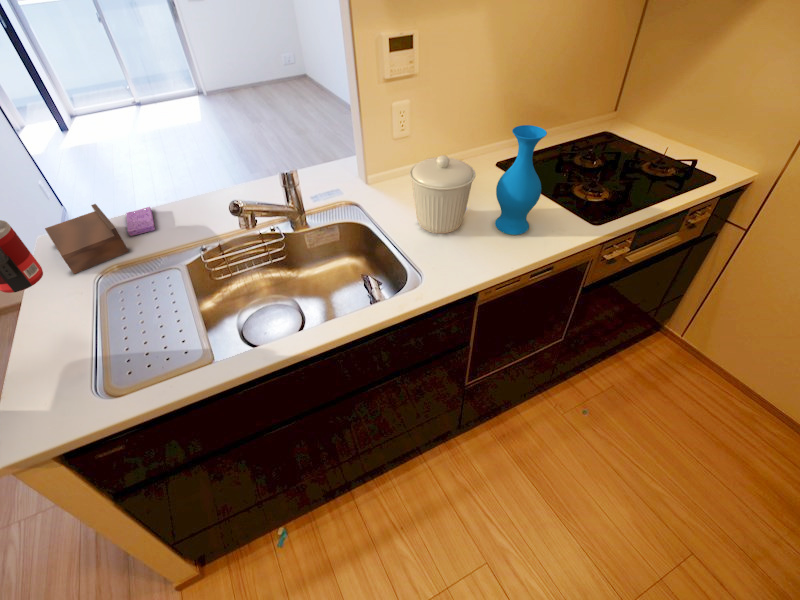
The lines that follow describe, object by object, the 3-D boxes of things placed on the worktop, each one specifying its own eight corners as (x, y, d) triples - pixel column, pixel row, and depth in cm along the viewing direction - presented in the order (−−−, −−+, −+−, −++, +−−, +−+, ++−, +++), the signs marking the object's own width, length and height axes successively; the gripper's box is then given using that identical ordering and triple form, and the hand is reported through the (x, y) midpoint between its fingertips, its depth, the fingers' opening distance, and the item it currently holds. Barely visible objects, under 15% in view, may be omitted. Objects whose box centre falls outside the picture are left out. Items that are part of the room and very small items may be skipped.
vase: (491, 237, 121) (506, 140, 103) (490, 214, 131) (503, 121, 112) (534, 239, 120) (558, 142, 101) (530, 216, 130) (550, 122, 111)
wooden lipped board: (74, 274, 112) (56, 249, 107) (56, 246, 122) (40, 222, 117) (129, 251, 119) (115, 227, 114) (108, 227, 129) (95, 203, 124)
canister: (467, 208, 133) (474, 142, 119) (472, 241, 120) (481, 171, 106) (409, 208, 134) (409, 142, 120) (408, 241, 121) (408, 171, 107)
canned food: (42, 262, 85) (6, 214, 78) (47, 282, 81) (10, 233, 73) (-4, 278, 82) (-46, 229, 74) (-1, 299, 77) (-46, 250, 70)
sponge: (130, 236, 125) (127, 231, 124) (128, 217, 133) (125, 211, 132) (155, 230, 127) (153, 225, 126) (152, 211, 135) (149, 206, 134)
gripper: (-38, 178, 61) (53, 295, 77) (-49, 137, 73) (31, 246, 88) (-106, 196, 58) (3, 315, 73) (-107, 150, 69) (-12, 261, 85)
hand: (19, 277), depth 81 cm, fingers closed on canned food, 8 cm apart
